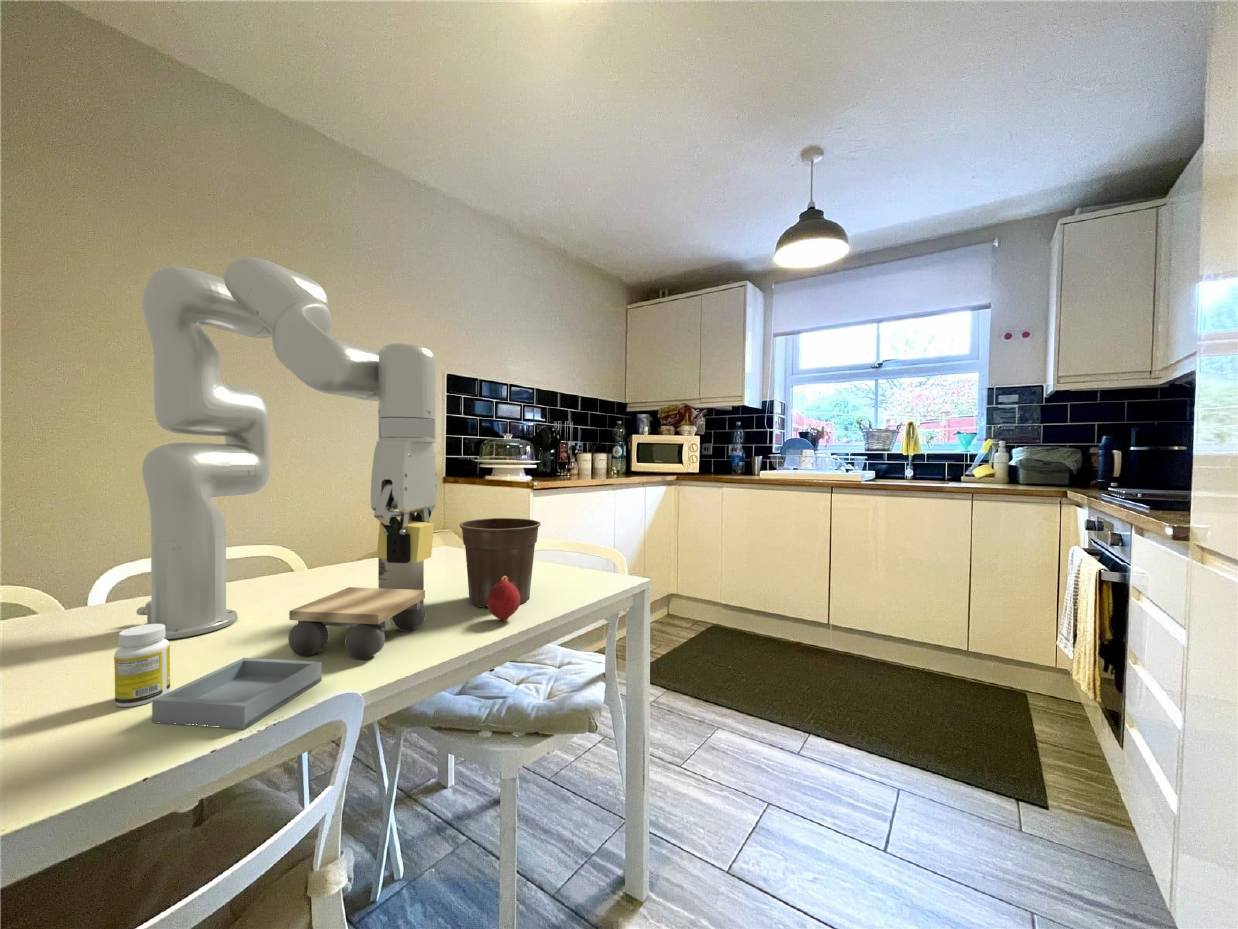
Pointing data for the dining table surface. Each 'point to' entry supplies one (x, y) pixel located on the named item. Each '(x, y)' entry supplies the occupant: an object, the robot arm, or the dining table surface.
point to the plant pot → (499, 555)
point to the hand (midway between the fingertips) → (408, 557)
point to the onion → (503, 599)
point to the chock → (411, 541)
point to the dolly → (355, 619)
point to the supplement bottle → (141, 665)
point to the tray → (237, 693)
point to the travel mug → (401, 574)
